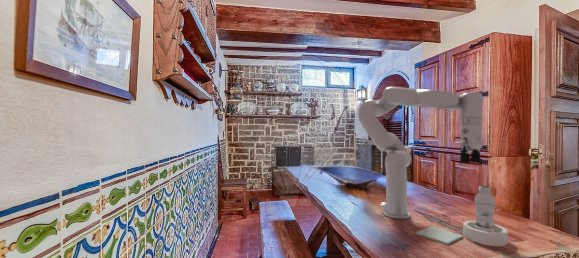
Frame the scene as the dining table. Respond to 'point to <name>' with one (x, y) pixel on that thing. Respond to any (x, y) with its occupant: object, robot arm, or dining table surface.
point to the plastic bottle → (484, 210)
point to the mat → (439, 235)
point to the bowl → (485, 235)
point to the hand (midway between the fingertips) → (470, 162)
